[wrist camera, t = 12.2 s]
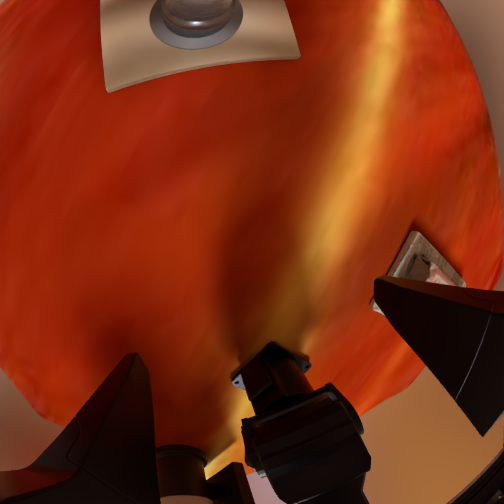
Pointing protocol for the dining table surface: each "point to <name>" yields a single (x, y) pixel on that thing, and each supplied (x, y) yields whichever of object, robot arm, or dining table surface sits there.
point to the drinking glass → (196, 16)
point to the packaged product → (422, 265)
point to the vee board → (188, 40)
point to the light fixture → (198, 479)
